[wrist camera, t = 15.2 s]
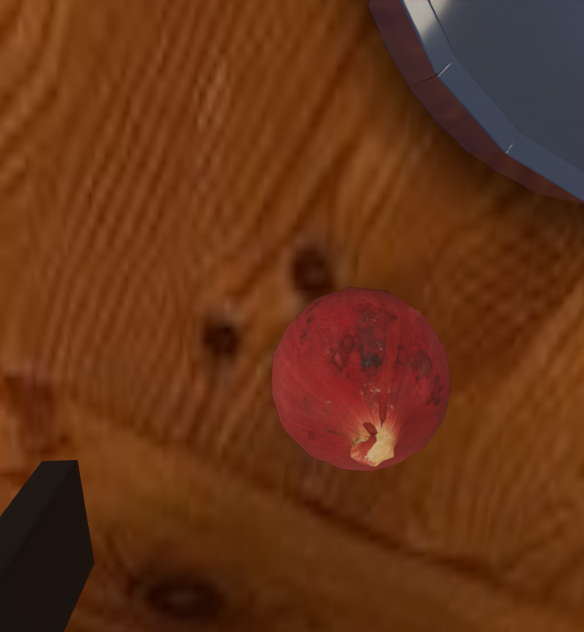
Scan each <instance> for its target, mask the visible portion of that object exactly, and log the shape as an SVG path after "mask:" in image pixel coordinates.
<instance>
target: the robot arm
mask: <svg viewBox="0 0 584 632" xmlns="http://www.w3.org/2000/svg"><path fill="white" fill-rule="evenodd" d="M93 565H94V558H93V552H92V545H91V539H90V533H89V527H88V521H87V515H86V509H85V503H84V497H83V491H82V485H81V479H80V473H79V467H78V461H77V460H65V461H42V462H41V463H40V465H39V466H38V467H37V469H36V470H35V471H34V473H33V474H32V475H31V477H30V478H29V479H28V481H27V482H26V483H25V485H24V486H23V487H22V489H21V490H20V491H19V492H18V494H17V495H16V496H15V498H14V499H13V500H12V502H11V503H10V504H9V506H8V507H7V508H6V510H5V511H4V512H3V514H2V515H1V516H0V632H64V630H65V628H66V626H67V623H68V621H69V619H70V617H71V614H72V612H73V610H74V608H75V605H76V603H77V601H78V599H79V596H80V594H81V592H82V590H83V587H84V585H85V583H86V581H87V578H88V576H89V574H90V572H91V569H92V567H93Z"/></svg>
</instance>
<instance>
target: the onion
mask: <svg viewBox="0 0 584 632" xmlns="http://www.w3.org/2000/svg"><path fill="white" fill-rule="evenodd" d="M271 388H272V395H273V399H274V402H275V405H276V409H277V412H278V415H279V418H280V421H281V424H282V427H283V429H284V430H285V431H286V432H287V434H288V435H289V436H290V437H291V438H292V439H293V440H294V441H296V442H297V443H298V444H299V445H300V446H301V447H302V448H303V449H304V450H305V451H306V452H307V453H308V454H309V455H311V456H312V457H314V458H317V459H319V460H322V461H324V462H326V463H329V464H331V465H333V466H336V467H338V468H341V469H347V470H359V471H373V470H377V469H380V468H384V467H387V466H391V465H394V464H398V463H400V462H401V461H403V460H405V459H406V458H408V457H409V456H411V455H413V454H414V453H416V452H417V451H419V450H421V449H422V448H424V447H425V445H426V444H427V443H428V441H429V440H430V438H431V437H432V436H433V434H434V433H435V432H436V430H437V429H438V427H439V426H440V425H441V423H442V421H443V419H444V417H445V413H446V408H447V404H448V399H449V395H450V390H451V380H450V373H449V367H448V360H447V354H446V350H445V348H444V345H443V343H442V341H441V339H440V338H439V336H438V335H437V334H436V332H435V331H434V329H433V328H432V326H431V325H430V323H429V322H428V320H427V319H426V317H425V316H424V315H423V314H422V313H420V312H419V311H417V310H415V309H414V308H412V307H411V306H409V305H407V304H406V303H404V302H403V301H401V300H400V299H398V298H396V297H395V296H393V295H392V294H390V293H389V292H387V291H382V290H373V289H365V288H356V287H348V288H345V289H342V290H339V291H336V292H333V293H330V294H327V295H324V296H321V297H318V298H316V299H315V300H314V301H313V302H312V303H311V304H310V305H309V306H308V307H306V308H305V309H304V310H303V311H302V312H301V313H300V314H299V315H298V316H297V317H296V318H295V319H294V320H293V321H292V322H291V323H290V324H289V325H288V326H287V328H286V330H285V332H284V334H283V336H282V338H281V340H280V342H279V344H278V346H277V348H276V350H275V352H274V355H273V367H272V384H271Z"/></svg>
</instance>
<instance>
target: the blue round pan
mask: <svg viewBox="0 0 584 632" xmlns="http://www.w3.org/2000/svg"><path fill="white" fill-rule="evenodd" d="M366 1H367V4H368V7H369V9H370V12H371V14H372V16H373V19H374V21H375V23H376V26H377V28H378V31H379V33H380V35H381V38H382V40H383V42H384V45H385V47H386V49H387V51H388V53H389V54H390V56H391V58H392V60H393V61H394V63H395V65H396V66H397V68H398V70H399V71H400V73H401V75H402V77H403V78H404V80H405V82H406V83H407V85H408V87H409V88H410V90H411V91H412V92H413V93H414V95H415V96H416V97H417V98H418V100H419V101H420V102H421V104H422V105H423V106H424V107H425V109H426V110H427V111H428V113H429V114H430V115H431V116H432V118H433V119H434V120H435V121H436V122H437V123H438V124H439V125H440V126H441V127H442V128H443V129H444V130H445V131H446V132H447V133H448V134H449V135H450V136H451V137H452V138H453V139H455V140H456V141H457V142H458V143H459V144H460V145H461V146H462V147H463V148H464V150H465V151H467V152H468V153H470V154H471V155H473V156H475V157H476V158H478V159H479V160H481V161H482V162H483V163H485V164H486V165H488V166H489V167H490V168H492V169H493V170H495V171H496V172H498V173H500V174H502V175H504V176H506V177H508V178H510V179H512V180H514V181H515V182H517V183H519V184H521V185H522V186H524V187H526V188H527V189H529V190H531V191H532V192H535V193H537V194H541V195H545V196H549V197H552V198H556V199H560V200H564V201H567V202H572V203H576V204H580V205H584V0H366Z"/></svg>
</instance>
